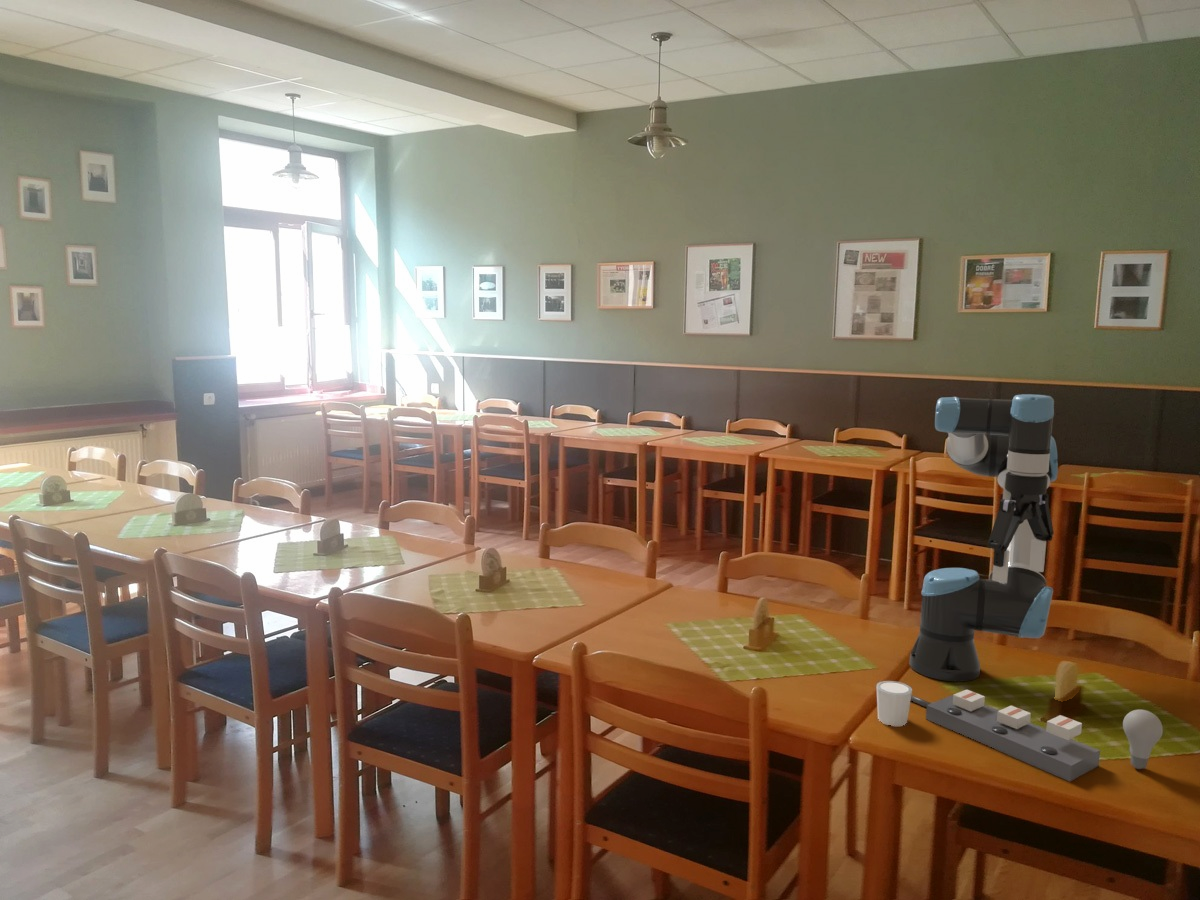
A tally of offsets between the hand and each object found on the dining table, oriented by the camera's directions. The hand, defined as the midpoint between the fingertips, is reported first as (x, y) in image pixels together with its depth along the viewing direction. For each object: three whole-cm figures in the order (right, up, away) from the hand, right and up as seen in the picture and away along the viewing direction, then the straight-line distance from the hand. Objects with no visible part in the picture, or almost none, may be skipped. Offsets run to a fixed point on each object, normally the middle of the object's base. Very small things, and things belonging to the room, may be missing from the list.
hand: (1018, 576), depth 178 cm
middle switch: (-5, -27, -9) cm, 29 cm away
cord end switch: (-11, -26, -1) cm, 28 cm away
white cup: (-26, -29, -1) cm, 39 cm away
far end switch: (0, -26, -17) cm, 32 cm away
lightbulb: (+13, -32, -19) cm, 40 cm away
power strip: (-9, -30, -6) cm, 32 cm away
